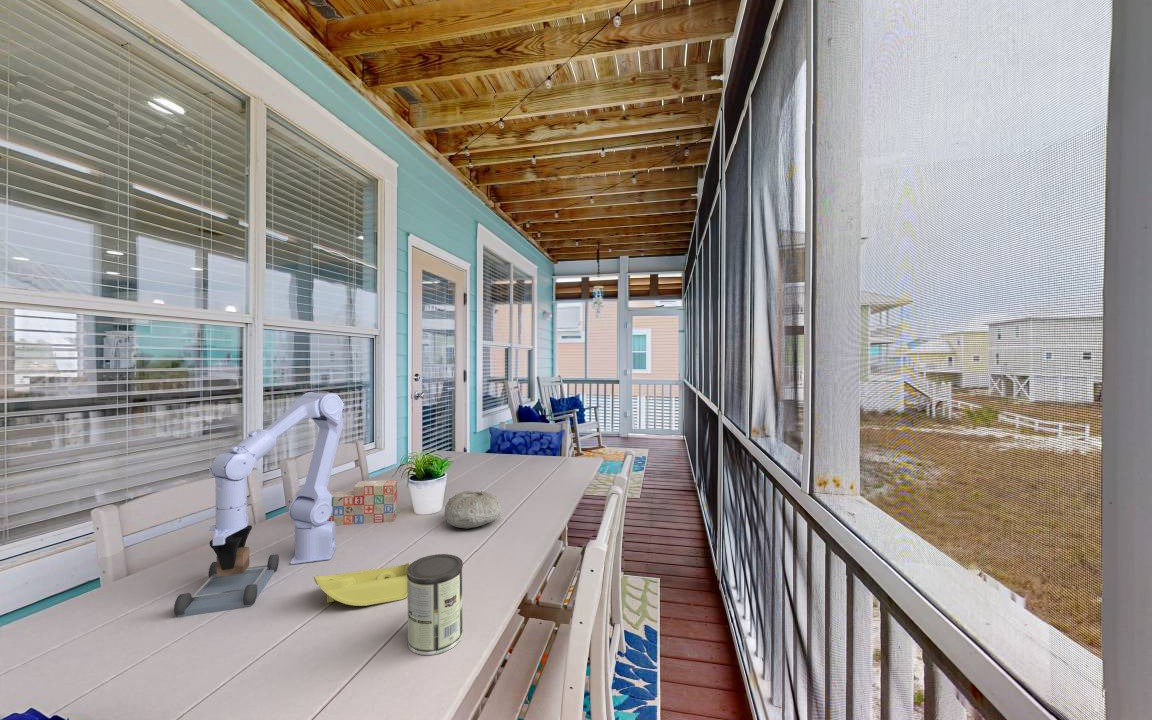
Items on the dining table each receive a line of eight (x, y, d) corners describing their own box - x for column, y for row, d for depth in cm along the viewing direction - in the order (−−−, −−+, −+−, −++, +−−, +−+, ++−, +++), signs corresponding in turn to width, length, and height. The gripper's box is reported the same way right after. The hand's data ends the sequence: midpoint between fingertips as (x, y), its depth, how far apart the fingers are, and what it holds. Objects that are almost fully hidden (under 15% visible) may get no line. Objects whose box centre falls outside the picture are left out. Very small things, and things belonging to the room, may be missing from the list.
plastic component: (405, 565, 112) (412, 561, 104) (405, 598, 109) (412, 597, 101) (313, 577, 102) (313, 575, 95) (310, 614, 99) (310, 615, 92)
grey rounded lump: (475, 510, 157) (475, 482, 157) (513, 521, 147) (513, 491, 147) (432, 526, 143) (432, 495, 143) (470, 540, 132) (470, 506, 132)
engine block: (249, 565, 106) (249, 546, 106) (242, 573, 103) (242, 553, 103) (224, 568, 105) (224, 549, 105) (216, 576, 101) (216, 556, 101)
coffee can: (425, 619, 93) (425, 551, 93) (472, 626, 90) (471, 556, 90) (395, 651, 83) (394, 575, 83) (446, 660, 80) (445, 581, 80)
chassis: (278, 567, 115) (278, 551, 115) (250, 608, 97) (250, 589, 97) (215, 575, 111) (215, 559, 111) (174, 619, 92) (173, 600, 92)
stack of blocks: (322, 526, 143) (322, 487, 142) (329, 519, 149) (329, 482, 149) (393, 522, 147) (393, 484, 146) (397, 515, 153) (397, 479, 153)
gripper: (224, 497, 109) (224, 553, 109) (195, 518, 95) (195, 582, 96) (258, 494, 111) (258, 549, 112) (234, 514, 98) (235, 576, 98)
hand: (231, 564), depth 104 cm, fingers closed on engine block, 4 cm apart
